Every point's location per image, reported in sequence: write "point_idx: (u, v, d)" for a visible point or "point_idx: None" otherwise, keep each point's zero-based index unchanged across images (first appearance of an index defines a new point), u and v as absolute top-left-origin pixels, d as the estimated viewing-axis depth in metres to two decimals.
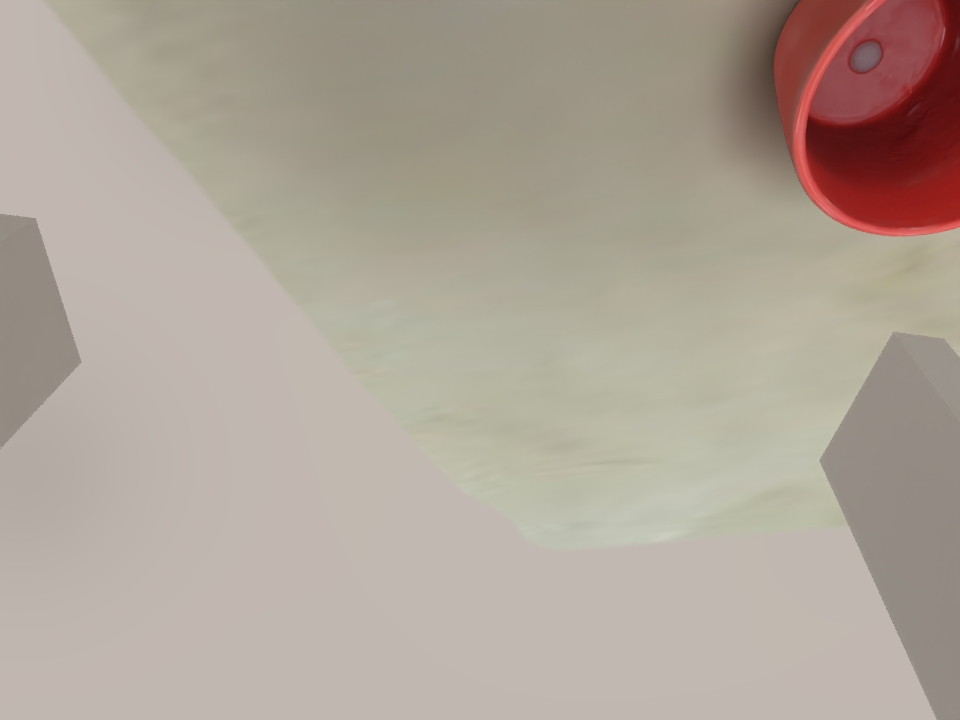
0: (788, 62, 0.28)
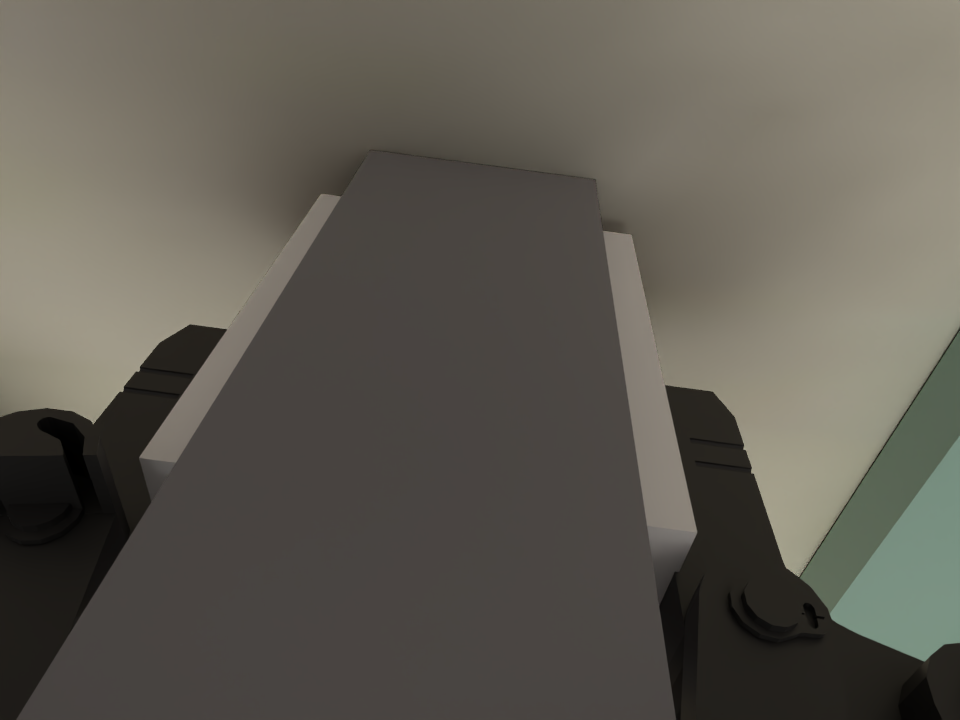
0: None
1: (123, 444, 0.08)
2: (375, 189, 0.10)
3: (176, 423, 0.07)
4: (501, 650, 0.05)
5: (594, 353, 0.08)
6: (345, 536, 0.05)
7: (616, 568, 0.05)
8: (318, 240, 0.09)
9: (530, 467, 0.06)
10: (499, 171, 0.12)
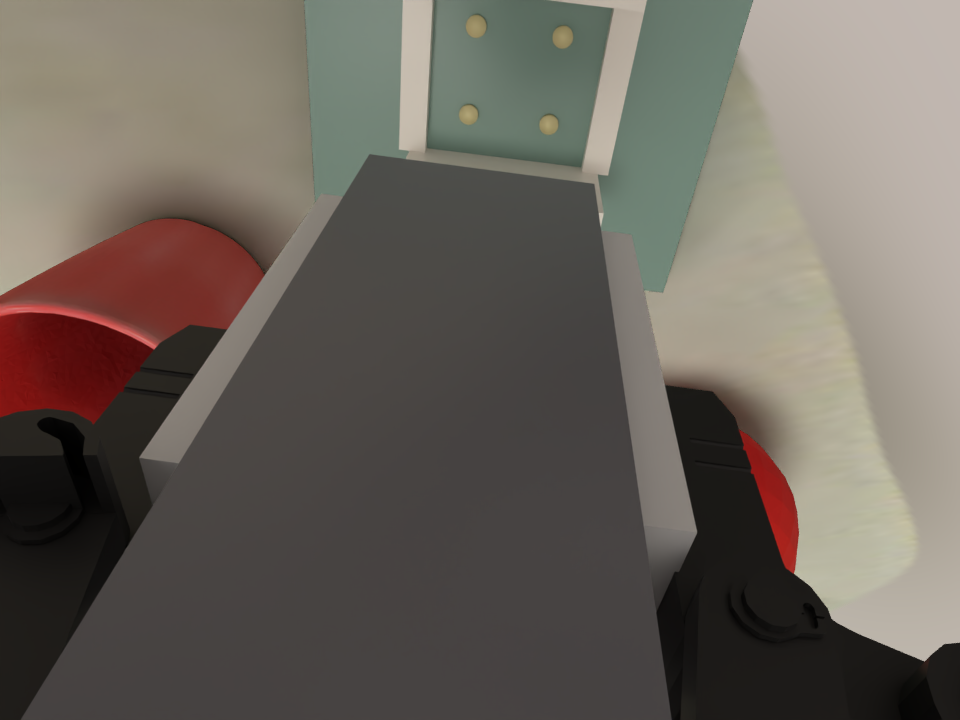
0: None
1: (123, 444, 0.08)
2: (375, 194, 0.10)
3: (176, 422, 0.07)
4: (498, 660, 0.05)
5: (593, 359, 0.08)
6: (343, 546, 0.05)
7: (614, 577, 0.05)
8: (316, 246, 0.09)
9: (527, 475, 0.06)
10: (498, 175, 0.12)
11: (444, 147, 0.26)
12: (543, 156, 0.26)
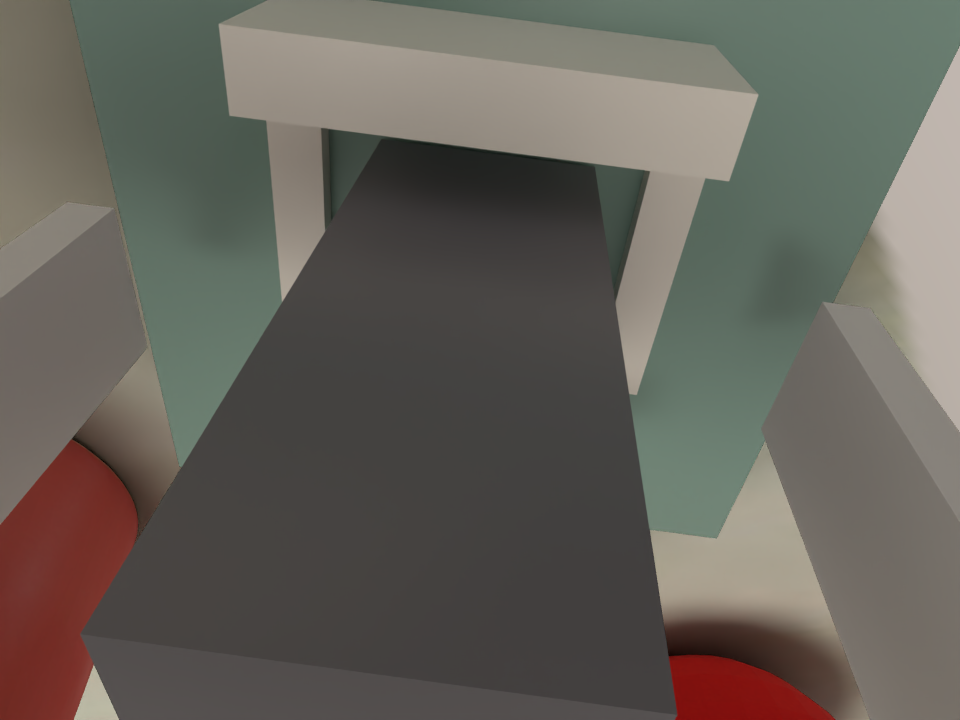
0: None
1: None
2: (387, 175, 0.11)
3: None
4: (510, 564, 0.05)
5: (593, 321, 0.08)
6: (371, 470, 0.06)
7: (612, 500, 0.06)
8: (335, 220, 0.10)
9: (534, 416, 0.07)
10: (504, 159, 0.12)
11: None
12: None
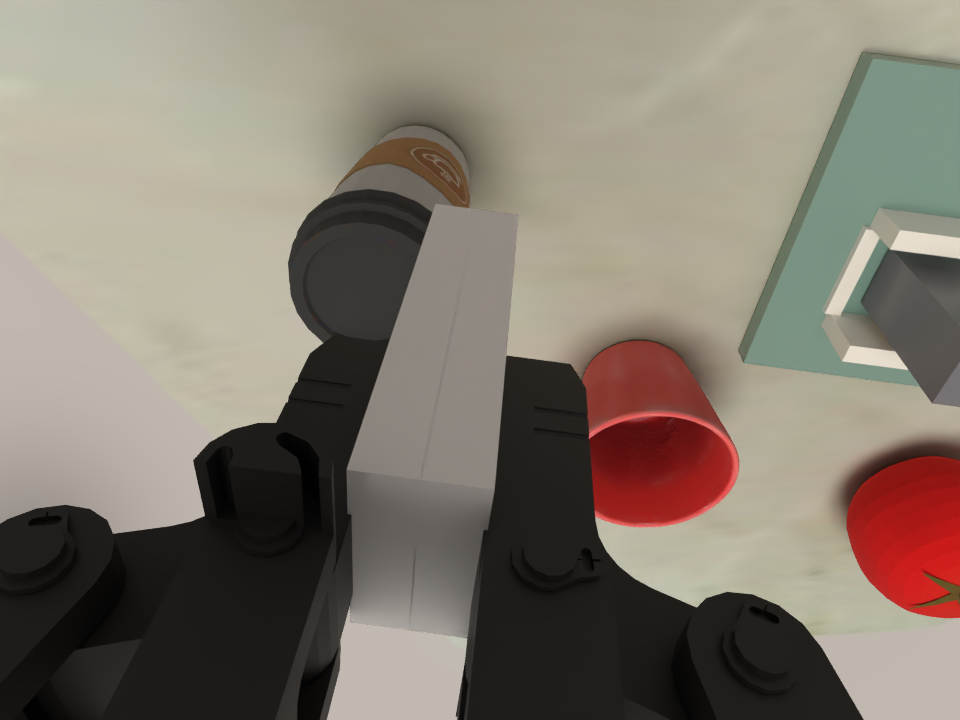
0: None
1: None
2: (909, 261, 0.39)
3: (371, 435, 0.07)
4: None
5: None
6: None
7: None
8: (916, 276, 0.38)
9: None
10: None
11: (848, 311, 0.44)
12: None
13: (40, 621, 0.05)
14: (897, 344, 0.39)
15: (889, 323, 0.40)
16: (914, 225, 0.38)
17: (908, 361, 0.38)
